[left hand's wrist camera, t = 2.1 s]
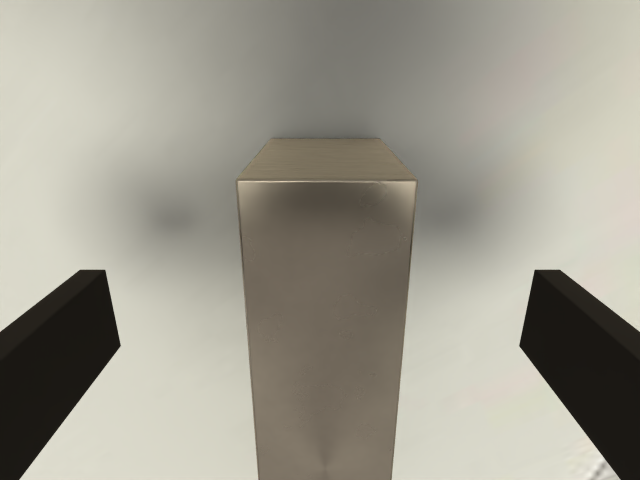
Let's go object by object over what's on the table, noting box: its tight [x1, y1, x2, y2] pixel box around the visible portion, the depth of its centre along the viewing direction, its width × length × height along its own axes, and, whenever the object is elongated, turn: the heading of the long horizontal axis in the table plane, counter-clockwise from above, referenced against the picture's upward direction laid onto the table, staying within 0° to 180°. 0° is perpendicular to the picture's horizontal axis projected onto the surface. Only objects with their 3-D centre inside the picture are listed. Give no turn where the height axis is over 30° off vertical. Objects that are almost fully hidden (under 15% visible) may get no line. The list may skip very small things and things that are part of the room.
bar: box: [236, 139, 418, 480], centre depth 20 cm, size 23×5×8 cm, turn 0°
